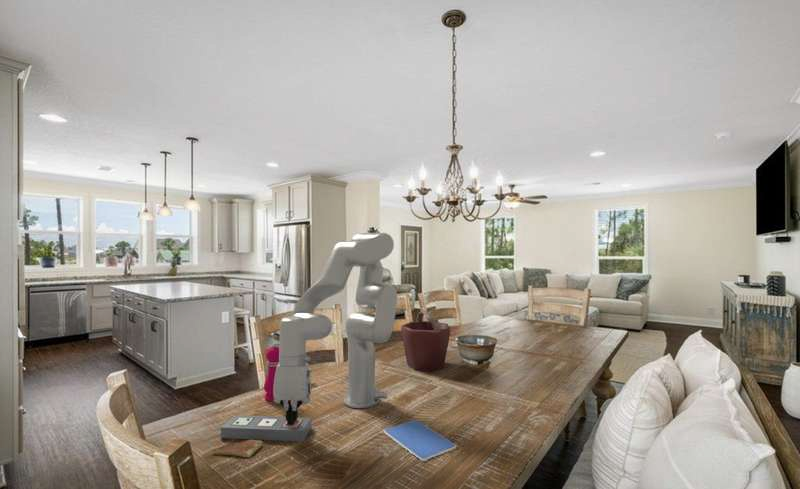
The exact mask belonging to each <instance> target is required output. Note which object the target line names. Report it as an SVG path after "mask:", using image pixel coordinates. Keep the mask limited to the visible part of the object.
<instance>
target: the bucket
mask: <svg viewBox="0 0 800 489" xmlns="http://www.w3.org/2000/svg"><path fill="white" fill-rule="evenodd" d="M424 316H425V318H426V319H427V321H425V320H424V321H423V318H424ZM400 327H401V328H400V329H401V337H402V343H403V348H404V349H403V350H404V354H405V359H406V364H407V366H408V367H409V368H411V369H413V371H420V372H430V373H431V372H434V371H438V370H439V371H440V370H443V369H444V368H445V363H446V358H447V352H448V347H449V341H450V336H451V327H450V325H449V324H448V323H445V322H438V321H436V320H435V318H434V317H433V316H432V315H431V313H430V312H428V310H427V311H424V310H423V311H419V312H418V314H417V316H416V321H409V322H407V323H404V324H402V325H401V326H400Z"/></svg>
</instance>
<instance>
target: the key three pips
mask: <svg viewBox="0 0 800 489" xmlns="http://www.w3.org/2000/svg"><path fill="white" fill-rule="evenodd" d="M301 423H302V420H296V421H295V423H294V424H293V425H291V424H289V425H287V421H286V422H285V423H284V425H283V426H282V427H283V428H298V427H299V425H300V424H301Z"/></svg>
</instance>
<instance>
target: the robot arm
mask: <svg viewBox="0 0 800 489" xmlns="http://www.w3.org/2000/svg"><path fill="white" fill-rule="evenodd" d="M394 244H395V242H394V239H393V237H392V236H391V235H390V234H389V233H386V232H361V233H357V234H354V235H353V236H352V238H351V240H347V241H340V242H337V243H336V244H335V245H334V247H333V249H332V250H331V252H330V255H329V257H328V259H327V262H326V264H325V267H324V269H323V271H322V273H321V274H320V278H319V279H318V280H317V281H316V282H315V283H314V284H312V285H311V286H310V287H309V288H308V289H307V290H306V291H305V292H303V294H302V295H301V296H300V297H299V299H298V301H297V303H296V305H295V307H294V309H293V311H292V314H291V316H286V317H284V318H282V319H281V320H280V321H279V339H278V340H279V342H278V344H279V345H278V347H279V364H278V365H277V368H276V372H275V378H274V389H273V395H274V400H273V401H272V402H274V403H276V404H280V405H281V406H282V408H284V411H285V417H286V420H287V425H289V424H291V425H293V424H294V423H295V421H296V420H297V418H299V416H298V415H299V412H298V411H299V408H300V407H301V406H302V405H308V404H309V403H310V402H311V397H310V395H311V394H312V379H311V378H312V377H311V373H310V369H311V368H310V364H309V363H308V362H310V361H311V356H310V355H309V356H308V355H307V341H312V340H315V341H316V340H323V339H325V338H326V337H328V336H329V335H330V334H331V332H332V330H333V323H332V320H331V318H329V317H328V316H327V315H324V314H321V313H314V312H315V310H316V308H317V307H318V306H319V305H320V304H321V303H322V302H323V301H325V300H327V299H328V298H330V297H333V296H335V295H337V294H339V293H341V292H342V291H343V290H344V289H345V287H346V284H347V282H348V279H349V277H350V275H351V272H352V270H353V268H354V267H359V276H358V281H357V285H356V286H357V287H356V291H355V303H356V305H357V306H358V307H359V308H363V309H367V310H373V311H375V313H372V312H365V311H356V312H353V313H351V314H350V315H348V317H347V319H346V321H345V334H346V337H347V345H348V350H347V351H348V353H347V354H348V356H347V358H348V360H347V365H348V366H347V367H348V368H347V372H348V373H347V377H348V378H347V394H346V395H345V396H344V397H343V404H344V405H345V406H347V407H349V408H353V409H367V408H371V407H373V406H376V405H378V403H379V402H380V399H388V392H386V391H385V390H379V389H377V385H376V349H375V344H374V343H376V344H383V343H384V344H385V343H386V342H388V341H389V340H390V338H391V336H392V333H393V329H394V324H395V318H396V314H397V313H396V312H397V306H398V294H397V291H396V290H397V289H396V288H395V287H394V286H393V285H391V284H389V283H384V282H383V276H384V267H383V265H382V262H381V260H383V259H385V258H387V257H389V256H390V255H391V254H392V252H393V250H394V246H395V245H394ZM382 282H383V283H382ZM309 368H310V369H309ZM292 401H293V402H292Z"/></svg>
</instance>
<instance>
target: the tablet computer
mask: <svg viewBox="0 0 800 489" xmlns="http://www.w3.org/2000/svg"><path fill="white" fill-rule="evenodd" d="M382 433H383V434H385V435H386V436H387V437H389V438H390V439H392V441H394V442H396V443H397V444H398V445H399V446H400V447H402V448H403V449H404V448H405V449H404V450H406V451H407V450H408V451H409V452H408V451H407V452H408V453H410V454H411V455H412V454H413V455H415V456H416V457H418V458H419V459H420V460H427V459H429V458H432V457H435V456H437V455H440V454H442V453H444V452H447V451H449V450H452V449H454V448H456V447H457V448H458V446H457V444H455V443H453V441H451V440H449V439H448V438H446V437H444V436H443V435H440V434H439V433H437V432H436V431H434V430H433V429H431V428H429V427H428V426H427V425H425V424H424V423H422V422H420V421H418V420H416V419H413V420H412V419H411V420H410V421H407V422H403V423H401V424H397V425H395V426H391V427H389V428H385V429H383V431H382ZM452 451H453V450H452ZM447 453H448V452H447ZM413 455H412V456H413ZM415 456H414V457H415ZM440 456H441V455H440ZM416 457H415V458H416ZM435 458H436V457H435ZM420 460H419V461H420Z"/></svg>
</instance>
